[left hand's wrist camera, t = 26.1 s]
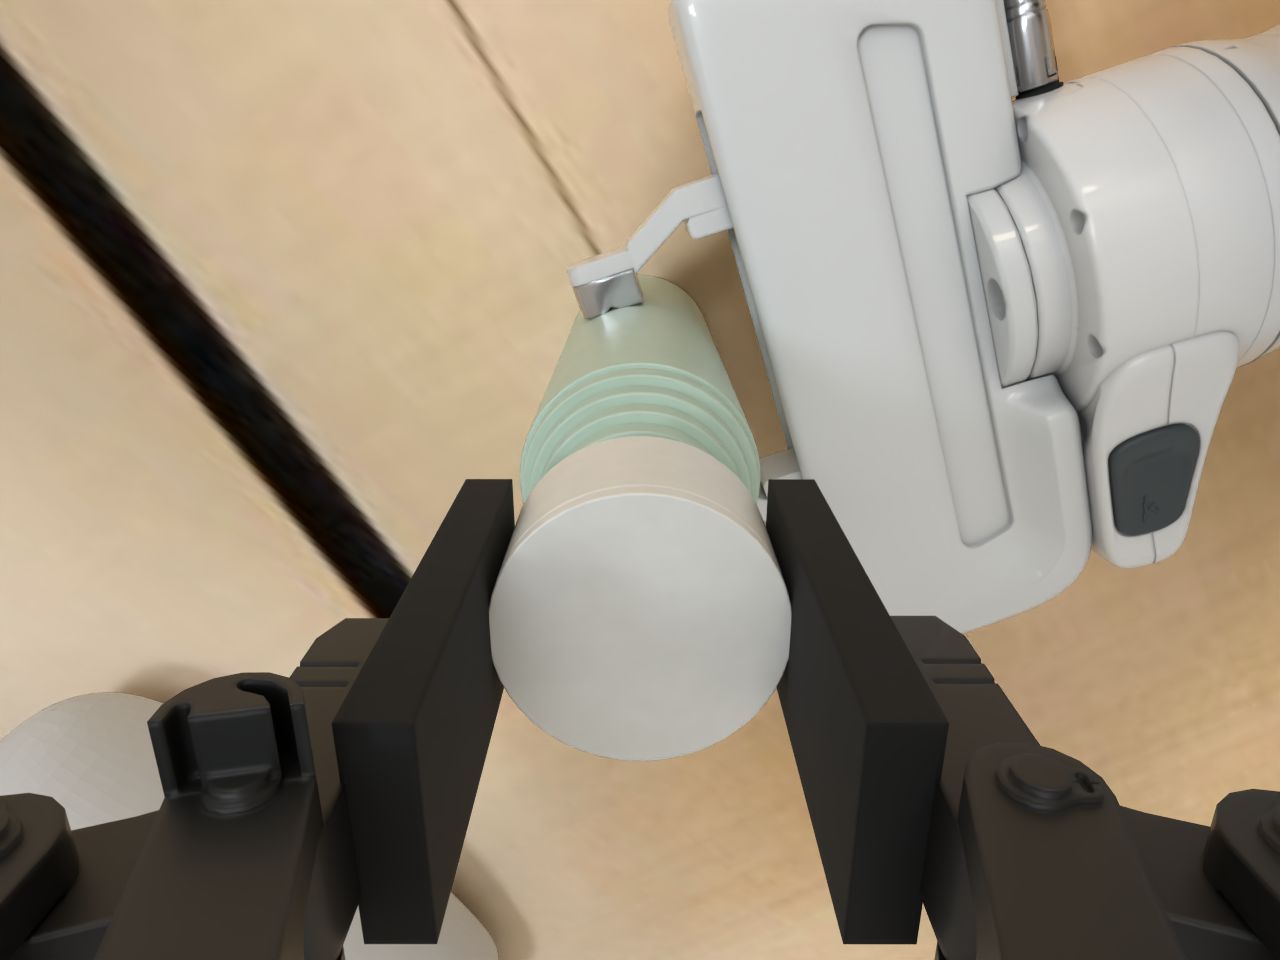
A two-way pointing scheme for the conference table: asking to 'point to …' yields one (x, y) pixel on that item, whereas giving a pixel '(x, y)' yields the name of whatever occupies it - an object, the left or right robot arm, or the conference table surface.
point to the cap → (640, 602)
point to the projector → (160, 797)
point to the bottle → (641, 388)
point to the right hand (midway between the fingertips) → (611, 397)
